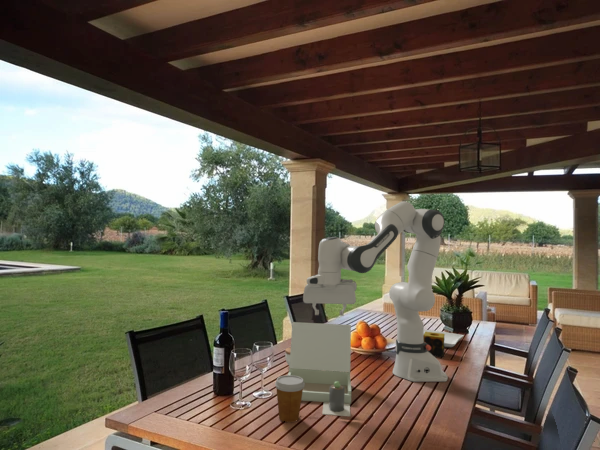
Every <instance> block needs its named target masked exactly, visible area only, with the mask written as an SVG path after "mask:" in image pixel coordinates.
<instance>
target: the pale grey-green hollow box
mask: <svg viewBox="0 0 600 450" xmlns="http://www.w3.org/2000/svg"><path fill="white" fill-rule="evenodd" d="M351 333H352V325H351V324H338V323H337V324H336V323H319V322H318V323H316V322H301V321H300V322H297V321H293V322H292V325H291V337H290V338H291V339H290V347H291V351H290V366H289V365H288V366H289V367H288V373H287V375H294V376H299V377H301V378H302V379H303V381H304V383H305V386H304V388H303V392H302V399H301V401H304V402H305V401H306V402H318V403H319V402H321V403H322V402H323V403H324V402H326V403H329V391H330V386H331V385H334V383H335V382H336V381H338V382H340V385H341V386H344V388H345V393H344V404H350V405H351V404H352V383H351V380H352V379H351V350H352V349H351V342H352V340H351V339H352V334H351Z"/></svg>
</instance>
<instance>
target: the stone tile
mask: <svg viewBox="0 0 600 450" xmlns="http://www.w3.org/2000/svg"><path fill="white" fill-rule="evenodd" d="M321 413H322V415H324V416H325V415H326V416H327V415H328V416H336V417H338V416H339V417H340V416H341V417H351V404H347V403H344V410H343V411H341V412H334V411H331V410H330V409H329V402H323V405H322V412H321Z"/></svg>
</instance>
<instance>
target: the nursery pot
mask: <svg viewBox="0 0 600 450" xmlns="http://www.w3.org/2000/svg"><path fill="white" fill-rule="evenodd" d="M344 393H345V388H344V386H341V385H340V382H338V381H336V382H335V383H334V385H331V386H330V391H329V402H328V403H329V409H330V410H331V411H334V412H341V411H343V410H344V404H345V403H344Z"/></svg>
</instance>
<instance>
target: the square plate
mask: <svg viewBox="0 0 600 450" xmlns="http://www.w3.org/2000/svg"><path fill="white" fill-rule="evenodd" d="M425 332H434V333H442V334H445V336H444V339H445V340H444V348H453V347H455V346H456V344H457V343H458V342H460V341H461V340H462V338H463V337H464V336H465V334H459V333H455V332H454V333H452V332H447V331H441V330H440V331H439V330H431V329H424V333H425ZM423 342H424V339H423Z"/></svg>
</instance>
